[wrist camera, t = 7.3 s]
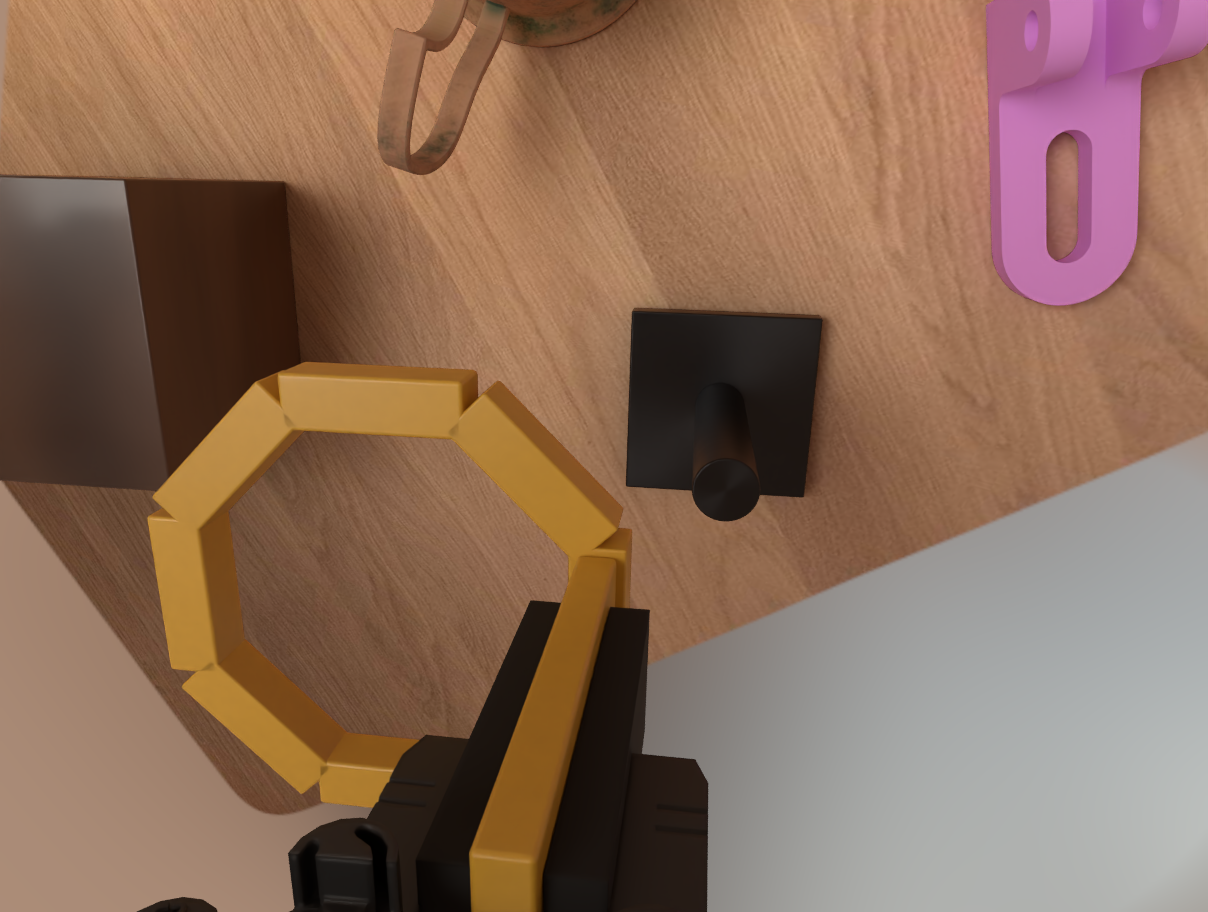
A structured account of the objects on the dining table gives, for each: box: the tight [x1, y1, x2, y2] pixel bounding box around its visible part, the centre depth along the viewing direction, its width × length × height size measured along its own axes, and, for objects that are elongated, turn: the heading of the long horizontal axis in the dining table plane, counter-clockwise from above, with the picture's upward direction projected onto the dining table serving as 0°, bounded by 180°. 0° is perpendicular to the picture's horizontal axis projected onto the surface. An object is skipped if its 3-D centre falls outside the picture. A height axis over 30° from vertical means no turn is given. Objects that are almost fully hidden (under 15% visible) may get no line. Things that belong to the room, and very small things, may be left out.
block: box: [0, 174, 301, 491], centre depth 38 cm, size 10×12×12 cm
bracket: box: [986, 0, 1208, 305], centre depth 34 cm, size 13×6×7 cm, turn 9°
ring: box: [147, 362, 632, 912], centre depth 15 cm, size 10×10×9 cm
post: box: [626, 308, 823, 521], centre depth 36 cm, size 9×9×13 cm
